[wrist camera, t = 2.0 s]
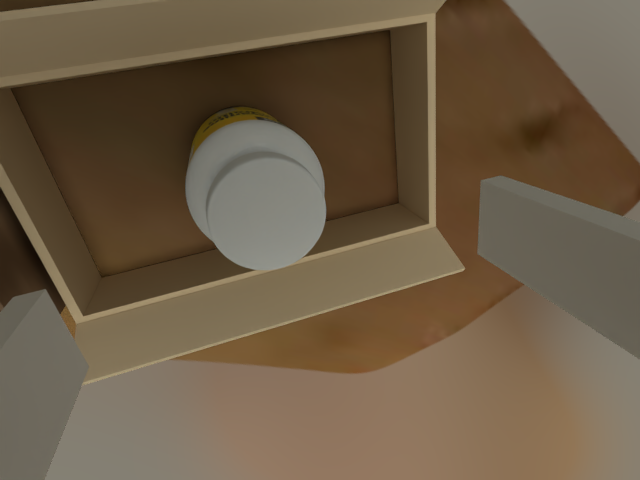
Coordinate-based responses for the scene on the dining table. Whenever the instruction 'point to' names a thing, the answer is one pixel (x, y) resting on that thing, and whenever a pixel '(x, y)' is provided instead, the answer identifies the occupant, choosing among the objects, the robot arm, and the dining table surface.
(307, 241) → the pill bottle
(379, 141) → the dining table surface
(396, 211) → the carton
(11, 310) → the robot arm
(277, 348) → the dining table surface
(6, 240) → the block
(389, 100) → the dining table surface
